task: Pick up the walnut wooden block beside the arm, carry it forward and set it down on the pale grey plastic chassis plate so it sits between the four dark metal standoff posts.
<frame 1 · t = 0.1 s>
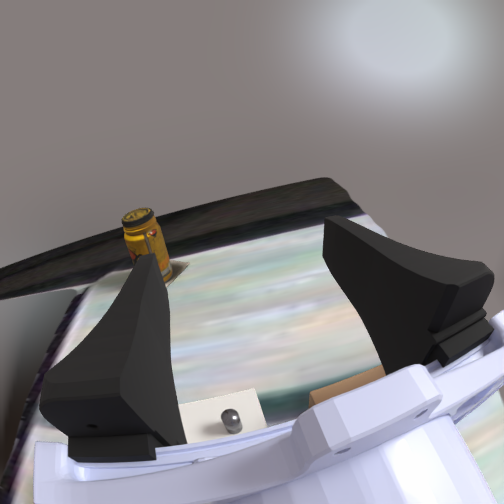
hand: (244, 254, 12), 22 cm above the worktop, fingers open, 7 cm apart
walnut block: (352, 423, 25), on the worktop
condiment: (160, 275, 51), on the worktop
chassis: (183, 477, 22), on the worktop
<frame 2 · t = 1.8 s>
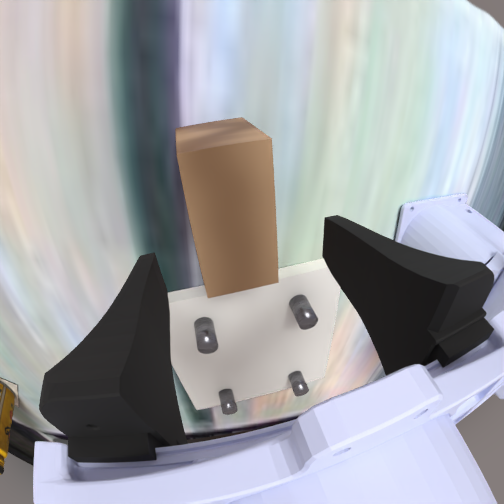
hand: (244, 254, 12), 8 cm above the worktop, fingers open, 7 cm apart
walnut block: (217, 182, 19), on the worktop
chassis: (253, 345, 29), on the worktop
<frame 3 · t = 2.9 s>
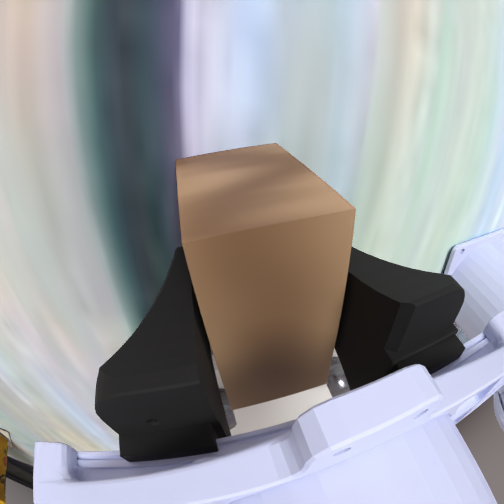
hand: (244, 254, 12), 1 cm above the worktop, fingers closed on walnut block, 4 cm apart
walnut block: (237, 236, 14), on the worktop, touching gripper
chassis: (272, 402, 24), on the worktop
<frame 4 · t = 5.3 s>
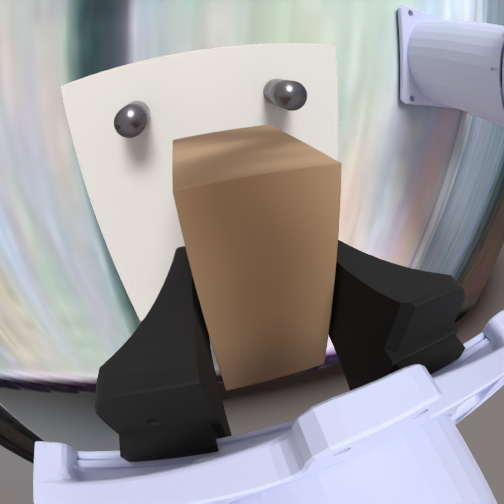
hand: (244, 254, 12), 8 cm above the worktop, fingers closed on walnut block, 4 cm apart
walnut block: (233, 217, 14), point 6 cm above the worktop, touching gripper
chassis: (217, 188, 19), on the worktop
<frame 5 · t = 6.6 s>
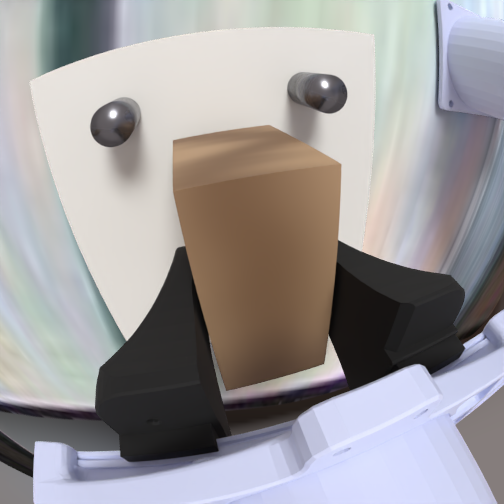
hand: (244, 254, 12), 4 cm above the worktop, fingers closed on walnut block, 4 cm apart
walnut block: (233, 217, 14), point 2 cm above the worktop, touching gripper
chassis: (226, 207, 16), on the worktop
when the fingers open (3 cm above the worktop, at t = 7.7 s): walnut block stays where it is, resting on chassis.
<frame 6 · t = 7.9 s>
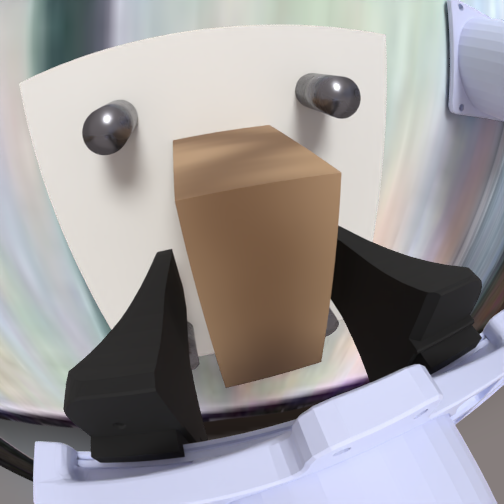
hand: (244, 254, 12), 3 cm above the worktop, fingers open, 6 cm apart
walnut block: (232, 216, 14), point 1 cm above the worktop, touching chassis
chassis: (229, 216, 15), on the worktop
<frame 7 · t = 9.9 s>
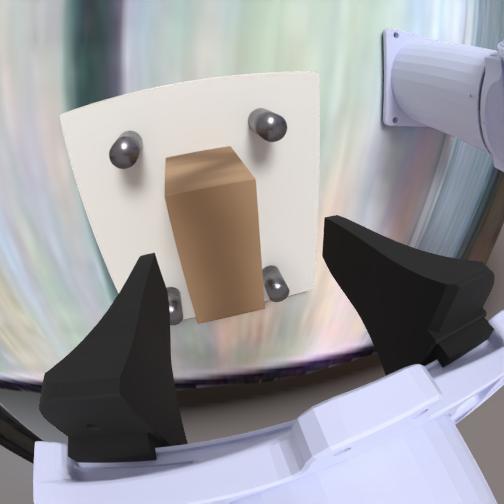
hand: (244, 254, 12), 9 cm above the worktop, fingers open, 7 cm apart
walnut block: (206, 208, 20), point 1 cm above the worktop, touching chassis
chassis: (206, 209, 21), on the worktop
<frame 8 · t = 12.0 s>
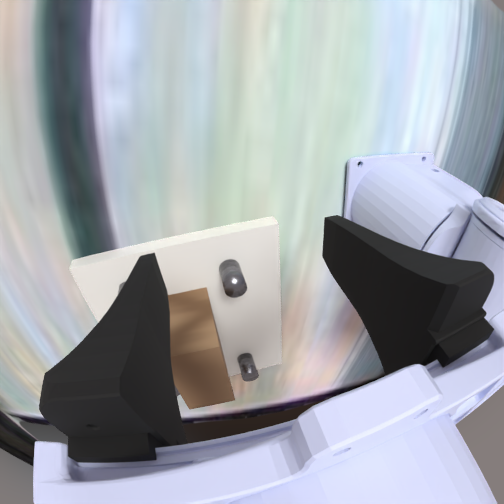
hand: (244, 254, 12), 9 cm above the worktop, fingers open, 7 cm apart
walnut block: (192, 325, 26), point 1 cm above the worktop, touching chassis
chassis: (192, 320, 27), on the worktop
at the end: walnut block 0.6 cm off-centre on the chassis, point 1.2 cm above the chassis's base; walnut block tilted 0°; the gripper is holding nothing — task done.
